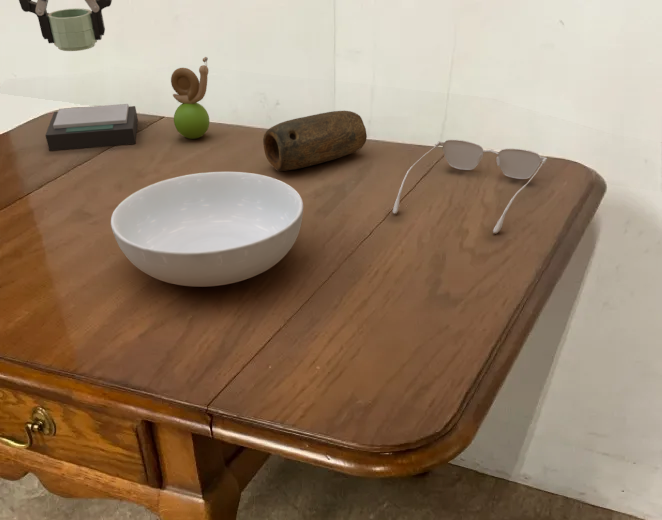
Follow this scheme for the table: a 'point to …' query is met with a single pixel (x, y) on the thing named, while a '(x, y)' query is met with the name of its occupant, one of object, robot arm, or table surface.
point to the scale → (92, 127)
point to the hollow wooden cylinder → (313, 139)
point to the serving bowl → (208, 227)
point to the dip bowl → (72, 29)
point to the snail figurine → (190, 101)
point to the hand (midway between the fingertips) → (75, 40)
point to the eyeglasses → (471, 154)
